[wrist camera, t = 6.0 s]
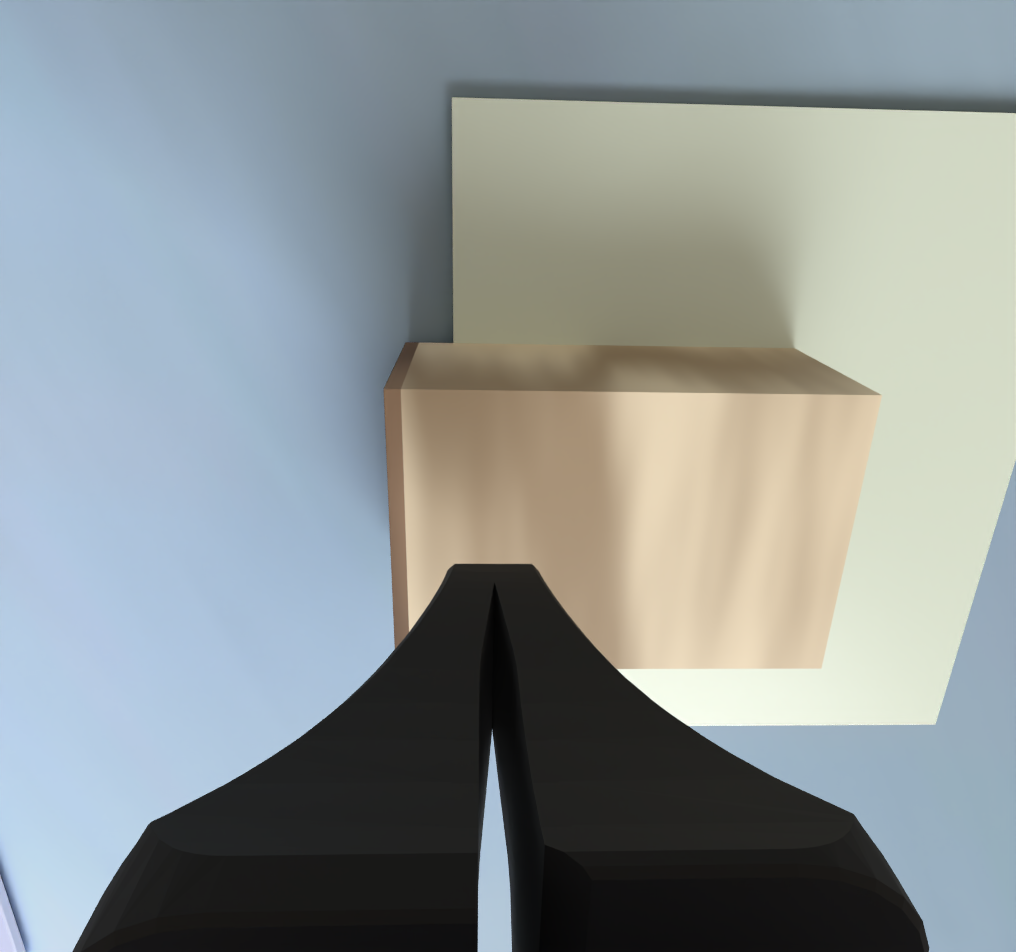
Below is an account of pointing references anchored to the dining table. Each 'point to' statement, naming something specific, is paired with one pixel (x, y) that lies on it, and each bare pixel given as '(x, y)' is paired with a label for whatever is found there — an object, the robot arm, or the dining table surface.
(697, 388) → the birch block
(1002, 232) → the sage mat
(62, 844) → the dining table surface
